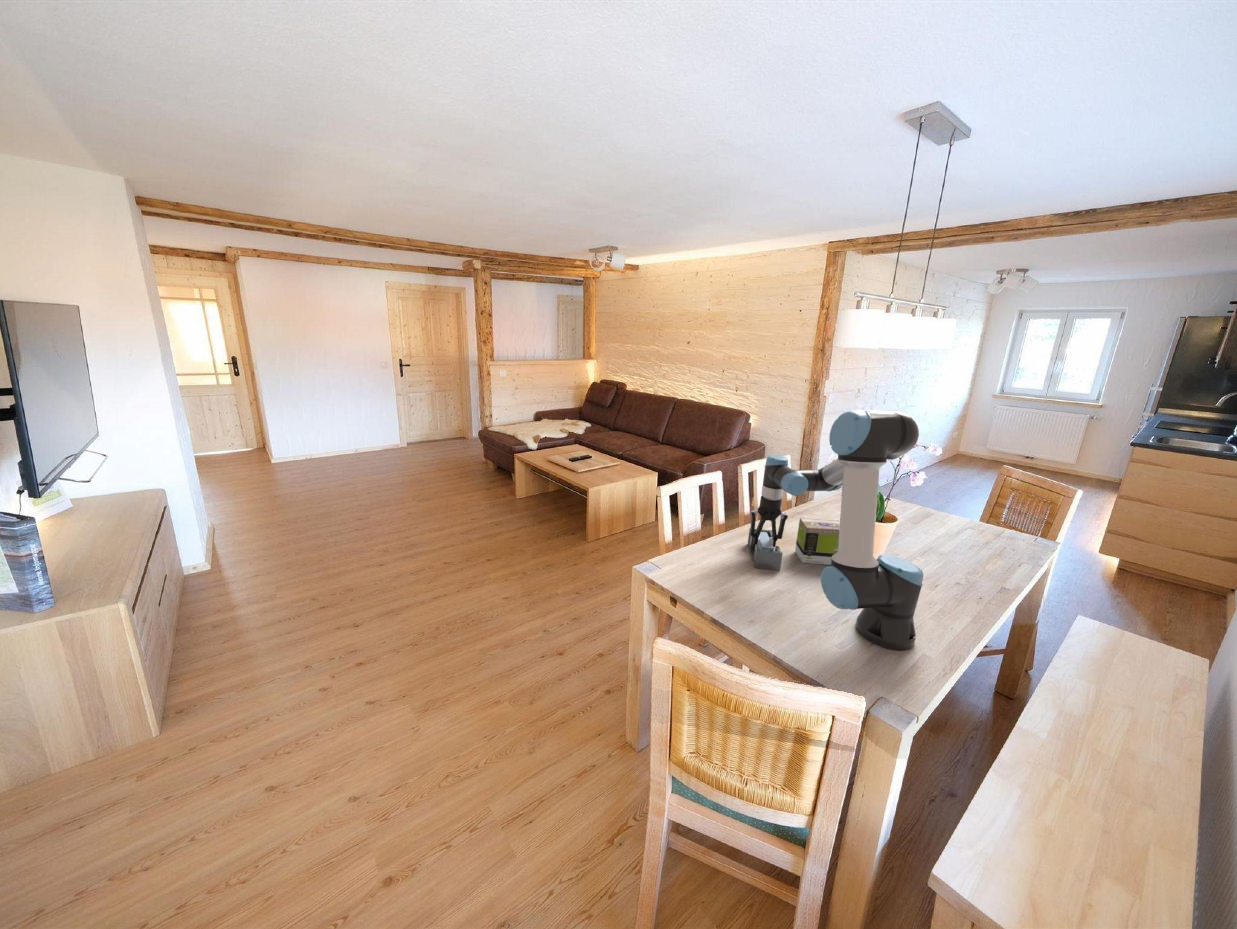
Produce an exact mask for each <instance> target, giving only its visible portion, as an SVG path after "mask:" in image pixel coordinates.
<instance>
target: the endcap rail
mask: <svg viewBox="0 0 1237 929" xmlns="http://www.w3.org/2000/svg"><path fill="white" fill-rule="evenodd" d="M756 529H757V528H755V531H754V533H755V532H756ZM748 531H749V532H748V538H747V547H748V550H749V553H750V556H751V561H752V565H753V568H754V569H759V570H770V571H778V572H780V571H781V566H782V559H783V551H781V548H780V546H779V545H778V546H777V545H775V547H774V551H768V550H761V549H760V546H759V544H756V545H754V537H753V536H751V534H750V528H749V530H748ZM761 532H767V534H768V536H769V538H770V537H772V538H773V536H772V529H770V530H769V529H762V530H761Z"/></svg>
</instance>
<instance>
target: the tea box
mask: <svg viewBox="0 0 1237 929" xmlns="http://www.w3.org/2000/svg"><path fill="white" fill-rule="evenodd" d="M798 522H799V523H798V529H797V536H796V542H795V551H794V552H795V554H796V555H797V557H798V559H799V560H800V562H801V563H802V564H811V565H813V564H815V565H826V566H831V559H832V556H833V555H834V554H835V553H837V552H838V544H839V528H840V520H834V519H833V520H832V519H819V518H802V517H800V518H799V521H798Z"/></svg>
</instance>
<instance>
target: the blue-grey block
mask: <svg viewBox="0 0 1237 929" xmlns="http://www.w3.org/2000/svg"><path fill="white" fill-rule="evenodd" d="M759 537H760V545H759V546H760V549H761V550H768V551H775V547H773V545H772V543H771V541H770V538H769V536H768V534H767V532H761V533H760V535H759Z"/></svg>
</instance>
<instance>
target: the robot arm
mask: <svg viewBox="0 0 1237 929" xmlns="http://www.w3.org/2000/svg"><path fill="white" fill-rule="evenodd" d="M919 430H920V429H919V426H918V424H917V422H916V421H915V420H914V419H913V417H911V416H910V415H908V414H907V413H905V412H902V411H897V410H889V411H888V410H862V409H860V410H850V411H849V410H848V411H846V412H843V413H841V414H840V415H839V416H838V417H837V418H836V419H835V421H834V422H833V423H832V426H831V429H830V431H829V439H828V440H829V446H831V447H830V448H831V450H832V452H833V453H835V454H836V455H837V458H836V459H835V460H833V461H831V462H830V463H828V464H827V465H825V466H823V467H821V468H819V469H792V468H790V466H789V460H788V458H787V457H785V456H783V455H779V454H771V455H768V456H767V457H766V461H765V465H764V470H763V471H764V473H763V479H762V487H761V493H760V494H761V496H760V502H759V505H758V507H757V509H755V510H754V509H751V510H750V515H751V517H750V518H751V520H750V528H749V529H750V534H751V536H753V537H754V545H756V544H759V545H760V537H759V535H760V533H761V530H763V527H764V525H765V523H766V522H767V521H770V524H771V530H772V536H773V538H772V537H770V541H771V543H772V545H773V547H774V548H775V546H777V541H778V540H782V539H783V534H784V530H785V525H786V521H787V519H788V518H789V517H788V516H789V515H788V513H786V512H782V502H783V499H782V498H783V496H784V492H785V493H788V494H789V495H791V496H793V497H798V496H801V495H802V494H805V493H806V492H833V491H839V490H840V489H841V497H840V498H841V500H840V514H839V522H840V528H839V544H838V552H837V553H835V554H834V555H833V556H832V559H831V565H826V567H824V568H823V569H822V570H821V574H820V585H821V588H822V589H821V590H822V591H823V593H824V595H825V598H826V599H827V600H828V602H829V603H830V604H832V605H833V607H835V608H837V609H840V610H852V611H855V610H859V609H861V611H860V613H859V614H858V615H857V617H856V621H855V629H856V631H857V632H858V633H859V634H860V636H862V637H863V638H864V639H866V640H867V641H869V642H871V643H873V644H874V645H877V646H880V647H882V648H886V649H889V650H892V651H893V650H894V651H906V650H910V649H911V648H913V647H914V645H915V642H916V638H917V635H916V628H915V622H914V621H915V620H914V616H915V612H916V608H917V604H918V601H919V598H920V594H921V590H922V587H923V585H924V584H923V581H924V580H923V579H924V572H923V570H922V569H921V568H920V567H919V566H918V565H916V564H915V563H913V562H911V561H909V560H907V559H904V558H901V557H898V556H895V555H890V554H881V555H878V557H877V558H875V557H874V546H875V544H874V543H875V533H876V532H875V531H876V519H877V518H876V517H877V508H878V507H877V506H878V494H879V493H878V492H879V481H880V480H879V478H880V477H879V476H880V469H881V468H882V467H883V466H884V465H886V464H887V460H888V461H892V460H896V459H898V458H900V457H902V456H904V455H905V454H907V453H909V452H910V451H911V450H912V449H914V447H915V446H916V445H917V443H918V441H919V437H920V431H919ZM758 514H759V516H760V519H759V522H758V524H757V527H756V521H757V520H756V519H757V516H758ZM778 518H780V520H779V526H778V530H777V522H776V520H777V519H778ZM755 529H756V532H755V533H754V531H755Z"/></svg>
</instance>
